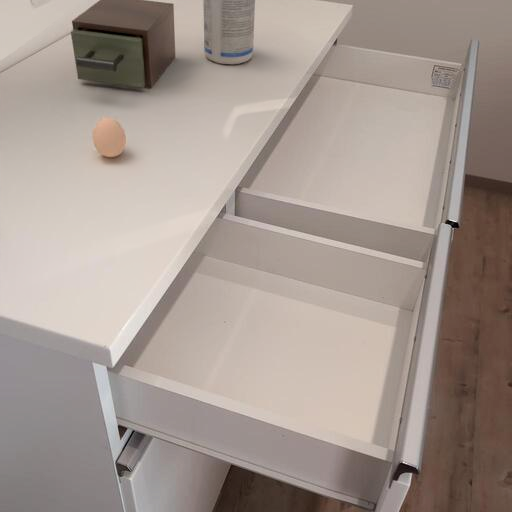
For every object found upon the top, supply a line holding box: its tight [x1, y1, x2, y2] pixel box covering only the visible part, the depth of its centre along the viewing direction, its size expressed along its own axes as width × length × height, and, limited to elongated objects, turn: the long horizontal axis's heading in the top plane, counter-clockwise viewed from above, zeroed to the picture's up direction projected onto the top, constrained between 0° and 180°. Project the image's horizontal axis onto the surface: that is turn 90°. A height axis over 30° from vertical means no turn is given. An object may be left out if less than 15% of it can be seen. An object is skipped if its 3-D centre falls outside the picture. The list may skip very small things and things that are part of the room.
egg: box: [92, 117, 127, 158], centre depth 75 cm, size 4×4×6 cm
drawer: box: [70, 28, 146, 89], centre depth 93 cm, size 19×12×8 cm, turn 170°
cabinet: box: [71, 0, 176, 89], centre depth 97 cm, size 15×13×10 cm
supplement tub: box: [202, 0, 256, 65], centre depth 102 cm, size 10×10×15 cm
